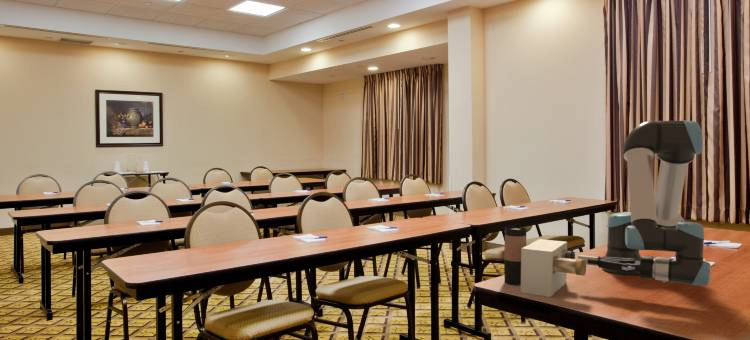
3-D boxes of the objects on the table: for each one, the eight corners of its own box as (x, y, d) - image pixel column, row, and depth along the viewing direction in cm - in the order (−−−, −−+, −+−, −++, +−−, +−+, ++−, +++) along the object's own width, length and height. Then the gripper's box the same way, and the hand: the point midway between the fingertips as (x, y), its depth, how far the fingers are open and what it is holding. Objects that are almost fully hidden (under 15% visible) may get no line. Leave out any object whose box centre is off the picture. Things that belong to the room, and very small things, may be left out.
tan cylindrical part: (574, 264, 189) (575, 250, 189) (571, 267, 185) (572, 252, 185) (537, 260, 196) (537, 246, 196) (533, 262, 192) (533, 248, 192)
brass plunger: (586, 273, 176) (586, 258, 176) (582, 277, 171) (583, 261, 171) (544, 268, 183) (545, 253, 183) (540, 271, 179) (541, 256, 178)
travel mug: (510, 286, 188) (511, 230, 187) (499, 280, 195) (500, 226, 194) (529, 284, 190) (530, 229, 189) (518, 279, 197) (519, 226, 196)
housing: (566, 282, 193) (567, 241, 193) (550, 297, 175) (551, 251, 174) (538, 278, 199) (539, 239, 198) (520, 292, 180) (521, 248, 179)
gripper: (651, 283, 168) (573, 273, 181) (656, 275, 179) (582, 266, 192) (652, 260, 167) (574, 251, 180) (656, 253, 178) (582, 245, 191)
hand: (578, 259), depth 186 cm, fingers closed
